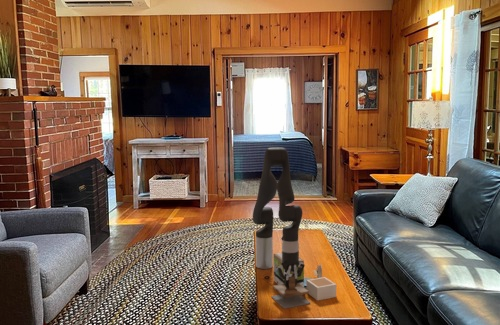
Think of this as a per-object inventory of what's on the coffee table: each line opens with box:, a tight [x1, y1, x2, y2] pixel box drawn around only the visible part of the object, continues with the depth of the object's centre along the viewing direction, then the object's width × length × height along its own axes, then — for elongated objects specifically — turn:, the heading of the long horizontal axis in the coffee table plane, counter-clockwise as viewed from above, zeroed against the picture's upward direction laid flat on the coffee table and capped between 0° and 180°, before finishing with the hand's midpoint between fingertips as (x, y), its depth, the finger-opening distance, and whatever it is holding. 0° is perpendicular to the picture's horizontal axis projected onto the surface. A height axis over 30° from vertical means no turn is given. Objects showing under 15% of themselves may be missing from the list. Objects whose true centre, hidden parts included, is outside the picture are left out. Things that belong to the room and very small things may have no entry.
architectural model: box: [313, 263, 323, 278], centre depth 225 cm, size 3×7×7 cm, turn 178°
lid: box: [272, 274, 309, 298], centre depth 199 cm, size 12×12×7 cm
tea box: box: [273, 252, 305, 288], centre depth 216 cm, size 15×10×15 cm, turn 21°
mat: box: [271, 293, 311, 310], centre depth 200 cm, size 13×13×1 cm
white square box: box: [305, 276, 337, 301], centre depth 205 cm, size 10×10×6 cm
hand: (290, 286), depth 199 cm, fingers closed on lid, 3 cm apart
